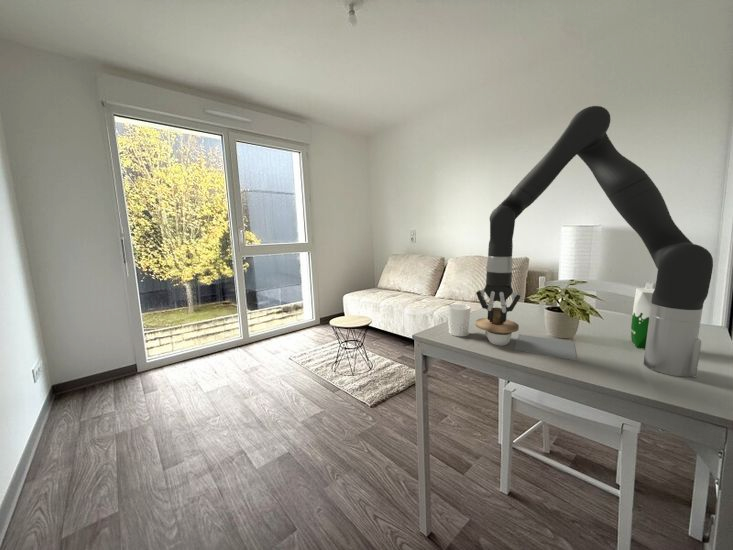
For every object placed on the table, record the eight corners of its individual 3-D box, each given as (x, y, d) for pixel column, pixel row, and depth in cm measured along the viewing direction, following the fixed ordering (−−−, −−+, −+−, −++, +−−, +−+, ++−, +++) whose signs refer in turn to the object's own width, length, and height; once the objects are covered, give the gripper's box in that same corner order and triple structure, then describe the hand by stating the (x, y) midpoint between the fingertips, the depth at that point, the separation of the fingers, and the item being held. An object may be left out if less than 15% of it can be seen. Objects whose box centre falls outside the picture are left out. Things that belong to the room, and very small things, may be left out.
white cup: (444, 335, 107) (445, 308, 106) (449, 328, 114) (450, 303, 113) (467, 338, 103) (468, 310, 102) (471, 331, 110) (472, 305, 109)
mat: (573, 343, 97) (573, 342, 97) (577, 362, 84) (577, 360, 84) (518, 335, 106) (518, 333, 106) (513, 351, 92) (513, 349, 92)
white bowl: (521, 346, 96) (522, 332, 96) (501, 353, 91) (502, 338, 91) (494, 337, 105) (495, 324, 104) (475, 342, 100) (475, 329, 99)
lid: (520, 323, 101) (521, 306, 100) (516, 335, 90) (517, 316, 89) (479, 318, 108) (480, 302, 107) (471, 328, 97) (472, 310, 96)
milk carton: (673, 354, 89) (682, 287, 86) (633, 348, 93) (640, 285, 90) (663, 344, 96) (671, 283, 93) (626, 339, 101) (633, 280, 98)
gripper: (524, 270, 95) (521, 322, 98) (478, 267, 103) (476, 316, 105) (522, 272, 89) (519, 328, 92) (474, 270, 96) (472, 322, 99)
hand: (496, 321), depth 98 cm, fingers closed on lid, 3 cm apart
